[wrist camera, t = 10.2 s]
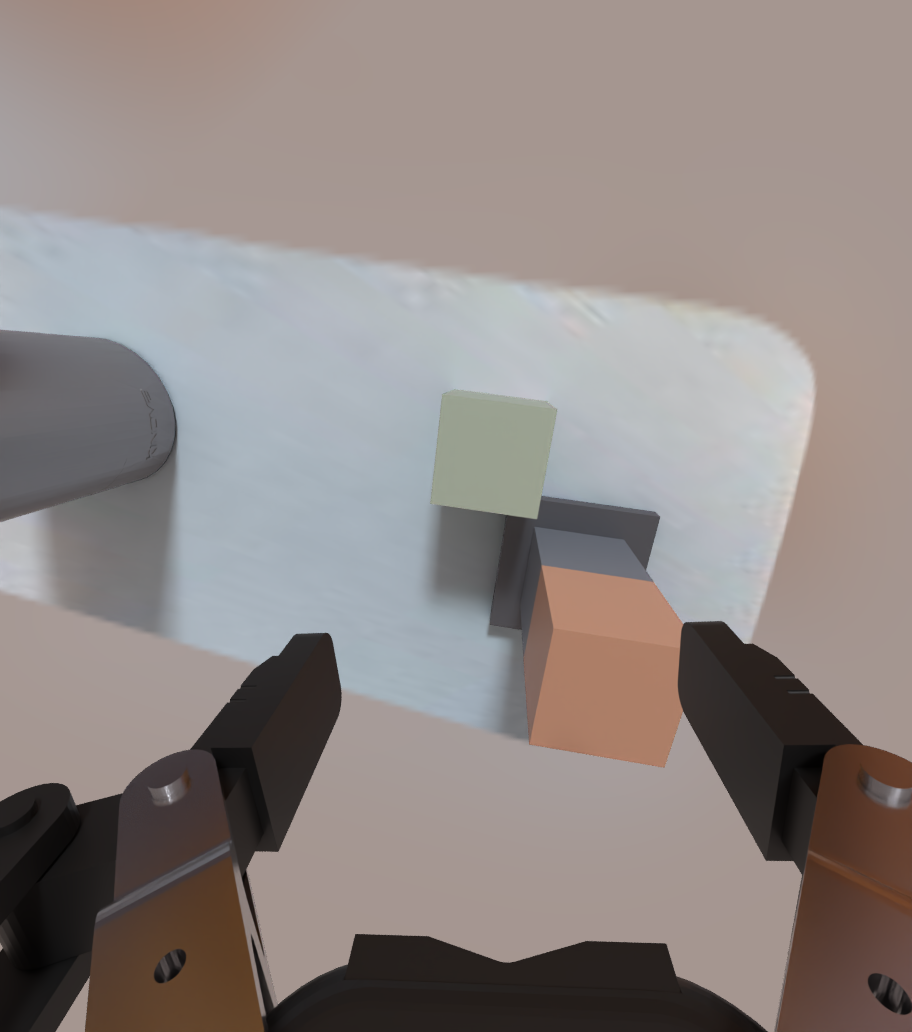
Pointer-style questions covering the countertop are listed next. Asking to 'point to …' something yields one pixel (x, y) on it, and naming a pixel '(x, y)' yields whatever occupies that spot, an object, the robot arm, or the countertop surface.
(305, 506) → the countertop surface
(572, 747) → the brick terracotta
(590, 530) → the tower base
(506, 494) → the brick sage
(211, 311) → the countertop surface
